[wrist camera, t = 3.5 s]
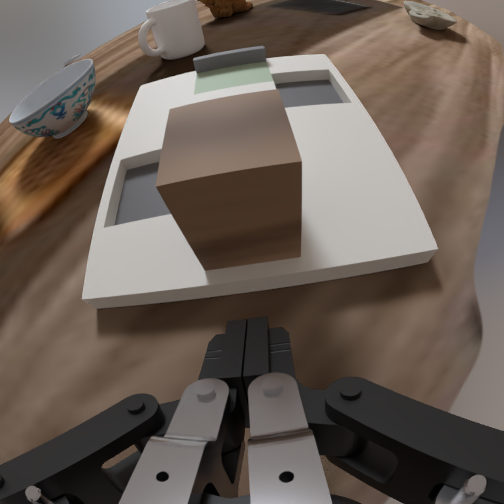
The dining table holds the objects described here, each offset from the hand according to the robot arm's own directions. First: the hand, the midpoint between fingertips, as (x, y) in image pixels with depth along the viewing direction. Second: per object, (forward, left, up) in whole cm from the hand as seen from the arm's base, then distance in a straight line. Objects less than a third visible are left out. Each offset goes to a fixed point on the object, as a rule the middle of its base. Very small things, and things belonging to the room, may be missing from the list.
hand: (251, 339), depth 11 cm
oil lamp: (+30, +73, -7) cm, 79 cm away
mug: (-22, +45, -7) cm, 51 cm away
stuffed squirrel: (-19, +72, -7) cm, 75 cm away
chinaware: (-34, +27, -7) cm, 44 cm away
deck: (-5, +19, -7) cm, 21 cm away
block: (-2, +8, -5) cm, 10 cm away
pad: (-8, +30, -7) cm, 32 cm away
